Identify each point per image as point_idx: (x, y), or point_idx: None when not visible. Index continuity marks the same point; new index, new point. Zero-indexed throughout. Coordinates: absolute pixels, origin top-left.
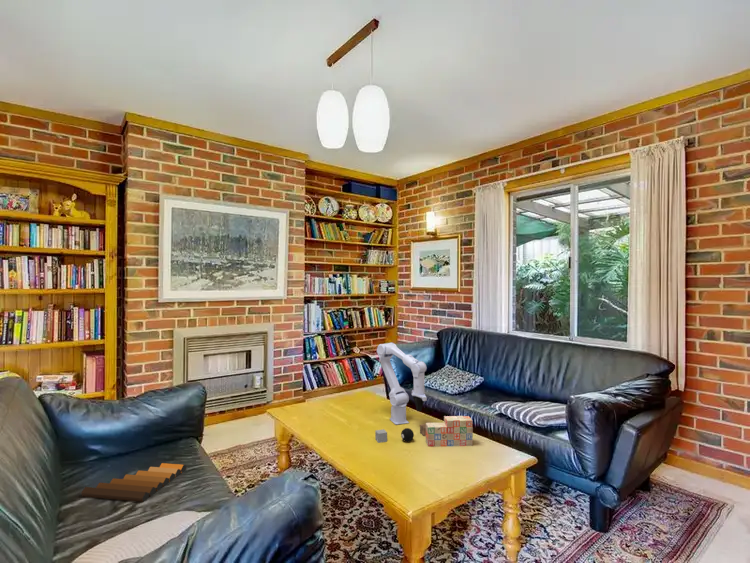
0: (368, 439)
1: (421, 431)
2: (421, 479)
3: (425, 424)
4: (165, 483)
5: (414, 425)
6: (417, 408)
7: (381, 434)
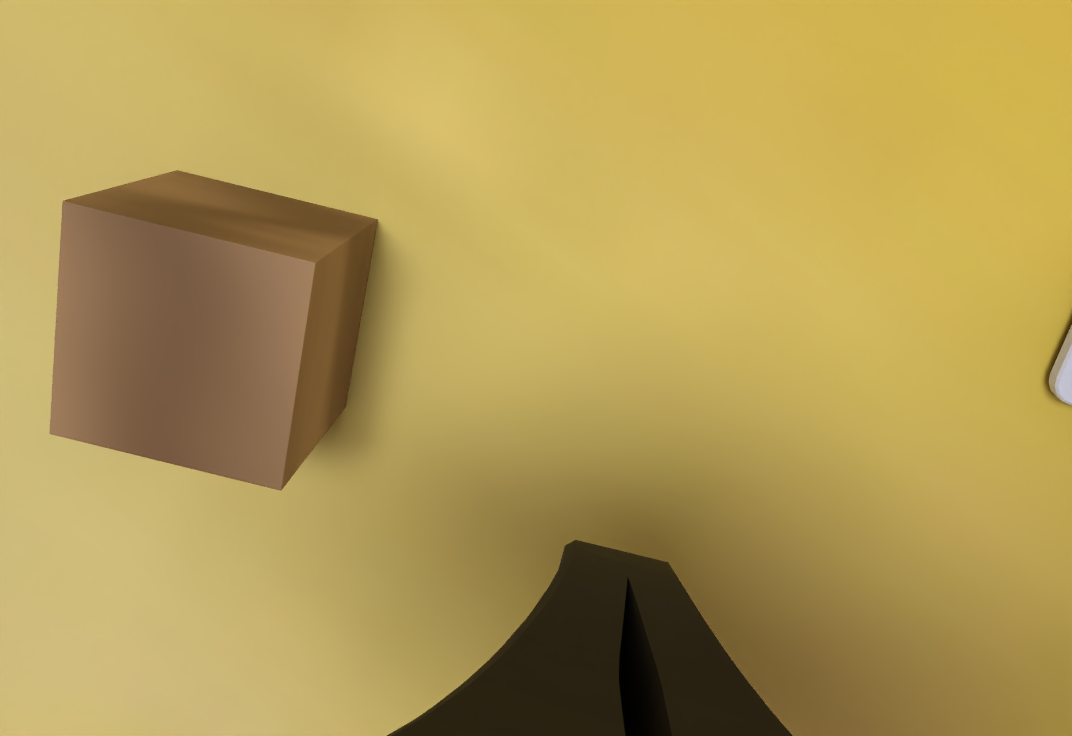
0: None
1: (271, 211)
2: None
3: (249, 396)
4: None
5: (841, 411)
6: (555, 584)
7: None
